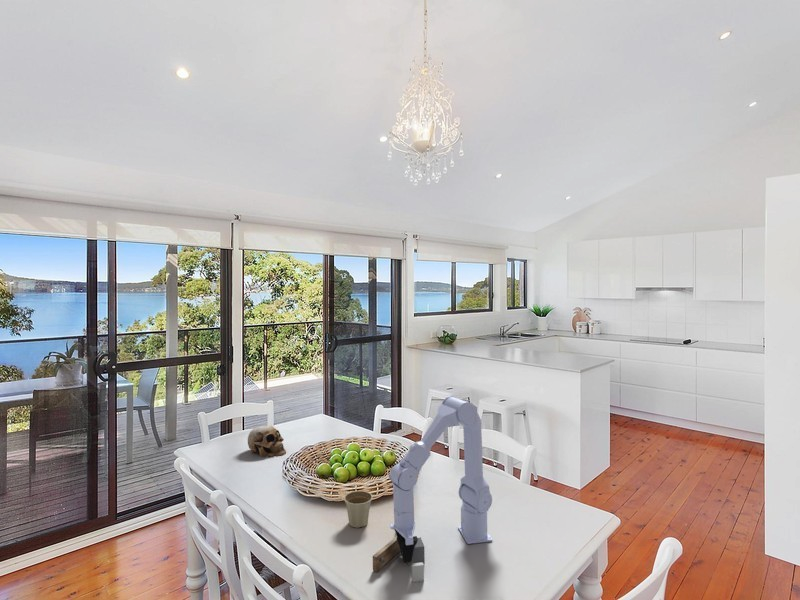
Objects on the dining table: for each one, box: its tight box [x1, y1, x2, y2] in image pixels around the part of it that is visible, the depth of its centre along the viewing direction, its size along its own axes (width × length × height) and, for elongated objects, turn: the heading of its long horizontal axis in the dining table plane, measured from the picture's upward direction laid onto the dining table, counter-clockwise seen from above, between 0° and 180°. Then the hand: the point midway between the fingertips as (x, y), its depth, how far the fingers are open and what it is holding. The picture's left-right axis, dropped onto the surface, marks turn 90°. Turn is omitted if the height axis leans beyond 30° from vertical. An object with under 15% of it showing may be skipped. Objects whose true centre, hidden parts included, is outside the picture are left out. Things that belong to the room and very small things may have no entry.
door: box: [372, 535, 401, 573], centre depth 122 cm, size 14×2×4 cm, turn 145°
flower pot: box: [343, 490, 374, 528], centre depth 142 cm, size 9×9×9 cm
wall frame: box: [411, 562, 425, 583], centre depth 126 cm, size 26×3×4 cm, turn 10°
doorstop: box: [407, 536, 426, 567], centre depth 122 cm, size 4×4×5 cm
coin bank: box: [247, 425, 287, 457], centre depth 208 cm, size 16×17×13 cm
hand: (405, 555), depth 122 cm, fingers open, 5 cm apart
